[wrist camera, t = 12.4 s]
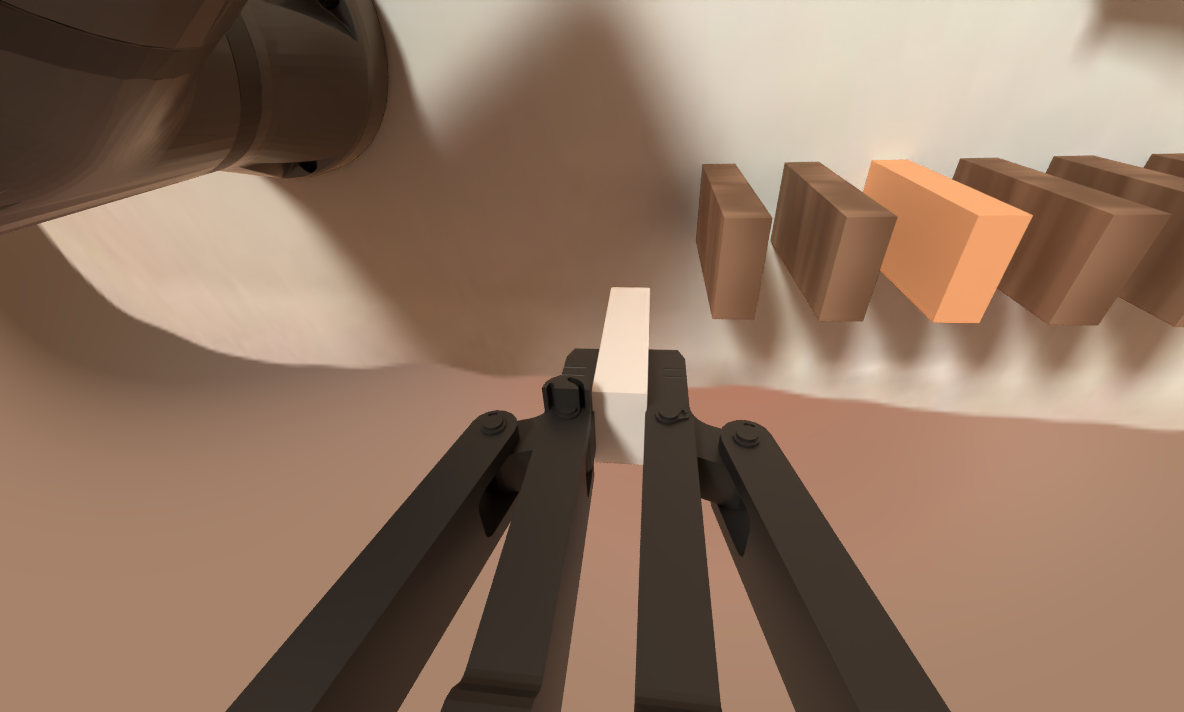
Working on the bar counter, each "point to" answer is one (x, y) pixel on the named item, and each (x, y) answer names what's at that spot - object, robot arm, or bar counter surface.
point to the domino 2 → (830, 239)
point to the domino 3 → (944, 239)
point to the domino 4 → (1065, 240)
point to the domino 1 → (731, 241)
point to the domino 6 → (1167, 164)
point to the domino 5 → (1179, 253)
